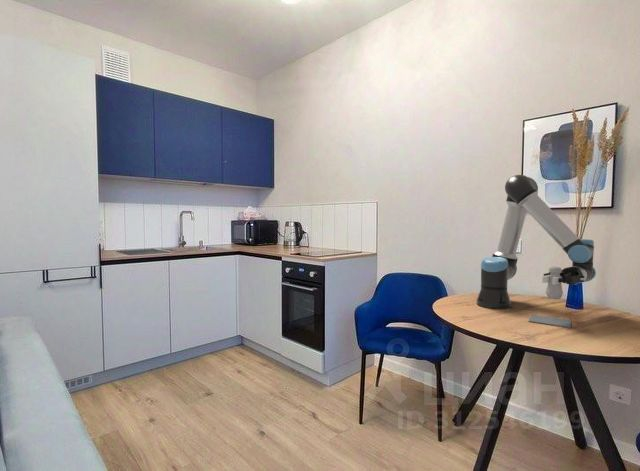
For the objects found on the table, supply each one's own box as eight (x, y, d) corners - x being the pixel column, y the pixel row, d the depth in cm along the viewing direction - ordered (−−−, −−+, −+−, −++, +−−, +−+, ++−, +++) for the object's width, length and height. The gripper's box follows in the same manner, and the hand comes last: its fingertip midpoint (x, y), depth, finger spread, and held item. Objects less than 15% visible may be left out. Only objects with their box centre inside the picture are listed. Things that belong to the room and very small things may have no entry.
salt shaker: (546, 298, 140) (547, 267, 140) (545, 296, 145) (546, 265, 145) (563, 300, 137) (564, 268, 137) (561, 297, 142) (563, 266, 142)
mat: (528, 321, 142) (528, 320, 142) (531, 315, 151) (531, 314, 151) (570, 328, 133) (570, 326, 133) (570, 321, 143) (570, 319, 143)
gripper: (594, 286, 145) (571, 293, 132) (552, 281, 158) (527, 286, 145) (595, 269, 144) (571, 273, 131) (553, 264, 158) (527, 268, 145)
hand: (548, 280), depth 138 cm, fingers closed on salt shaker, 3 cm apart
